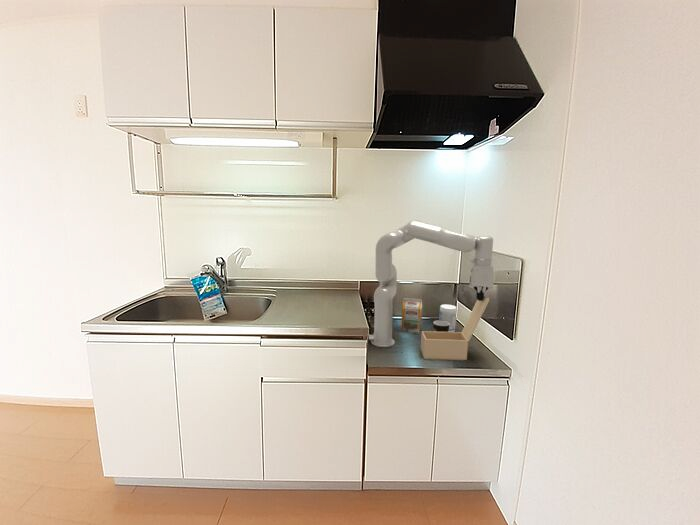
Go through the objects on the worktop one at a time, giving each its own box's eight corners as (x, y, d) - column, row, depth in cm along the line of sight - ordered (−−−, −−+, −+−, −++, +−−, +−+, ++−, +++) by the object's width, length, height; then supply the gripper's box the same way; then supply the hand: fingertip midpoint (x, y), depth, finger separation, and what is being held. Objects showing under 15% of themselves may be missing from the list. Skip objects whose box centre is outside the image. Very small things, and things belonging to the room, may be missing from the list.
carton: (424, 359, 163) (425, 339, 162) (420, 349, 174) (421, 331, 172) (466, 360, 162) (468, 340, 161) (460, 350, 173) (461, 332, 172)
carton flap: (488, 298, 157) (489, 299, 157) (480, 293, 168) (481, 293, 168) (468, 340, 161) (469, 341, 161) (461, 332, 172) (462, 332, 172)
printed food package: (401, 332, 199) (402, 300, 196) (403, 326, 209) (404, 296, 206) (419, 334, 196) (421, 302, 193) (421, 328, 206) (422, 297, 203)
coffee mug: (449, 344, 181) (450, 326, 180) (432, 343, 183) (433, 325, 181) (447, 336, 193) (448, 319, 191) (431, 335, 194) (432, 318, 193)
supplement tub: (435, 330, 203) (436, 306, 200) (443, 326, 209) (445, 303, 207) (449, 334, 196) (451, 309, 193) (458, 330, 202) (459, 306, 200)
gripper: (469, 263, 157) (466, 301, 160) (502, 264, 156) (498, 302, 159) (464, 260, 164) (461, 297, 167) (495, 261, 163) (492, 298, 166)
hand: (479, 300), depth 163 cm, fingers closed
